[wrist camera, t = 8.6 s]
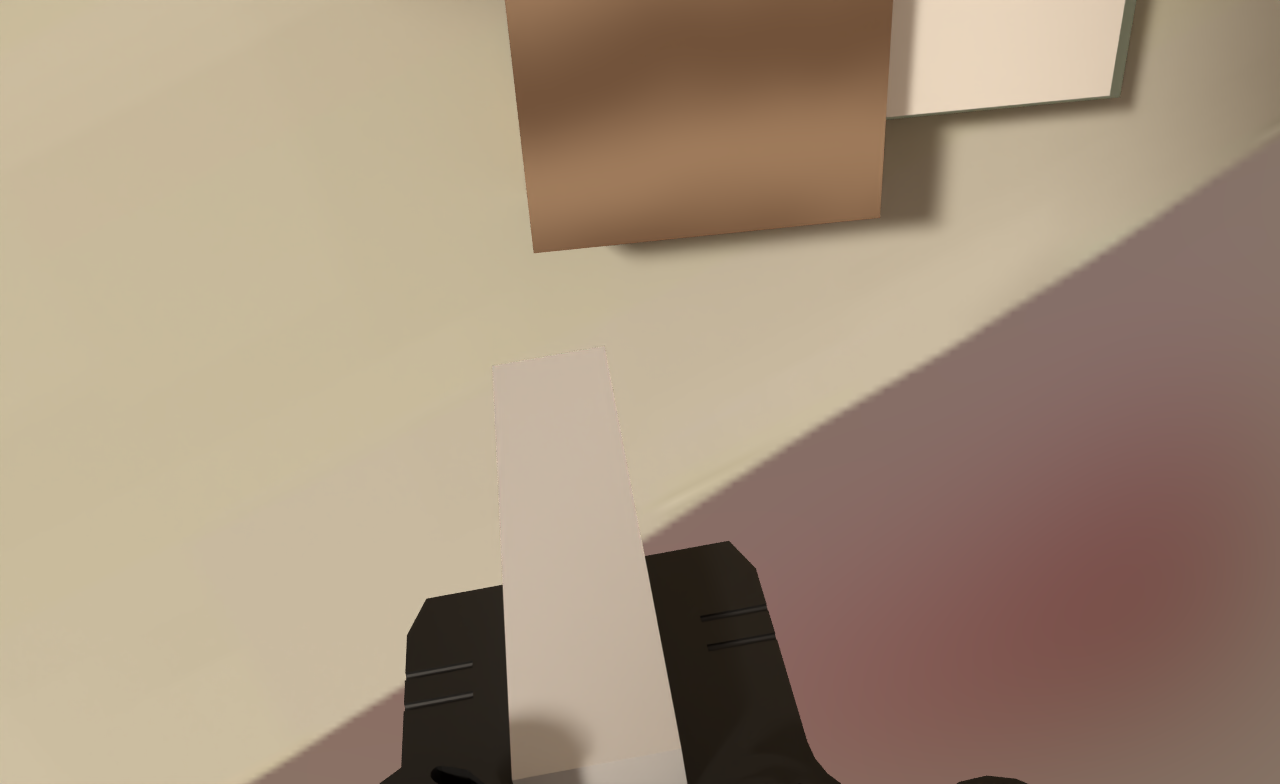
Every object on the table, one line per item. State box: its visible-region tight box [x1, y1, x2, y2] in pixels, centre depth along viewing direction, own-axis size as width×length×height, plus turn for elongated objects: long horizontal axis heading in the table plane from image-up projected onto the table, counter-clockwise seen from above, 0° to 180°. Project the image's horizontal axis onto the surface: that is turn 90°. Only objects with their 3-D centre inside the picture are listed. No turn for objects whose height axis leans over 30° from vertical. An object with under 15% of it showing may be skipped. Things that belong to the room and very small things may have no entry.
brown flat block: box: [505, 0, 893, 253], centre depth 33 cm, size 11×10×4 cm
